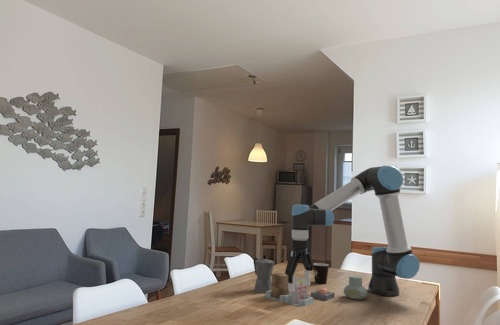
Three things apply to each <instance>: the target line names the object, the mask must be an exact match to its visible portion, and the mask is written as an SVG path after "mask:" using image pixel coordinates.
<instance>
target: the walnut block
mask: <svg viewBox="0 0 500 325" xmlns="http://www.w3.org/2000/svg"><path fill="white" fill-rule="evenodd" d="M271 283H272V287H271V296H272V297H276V298H280V295H284V296H285V295H288V294H289V292H290V291H289V290H288V275H286V274H285V273H279V272H275V273H272V276H271Z"/></svg>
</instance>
